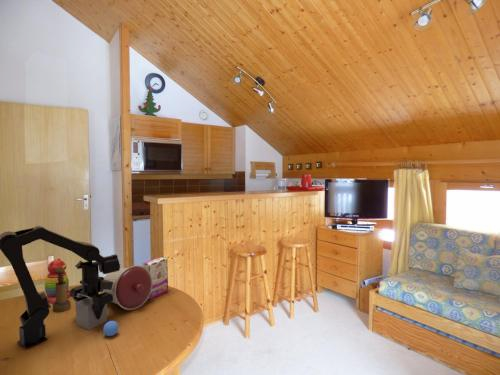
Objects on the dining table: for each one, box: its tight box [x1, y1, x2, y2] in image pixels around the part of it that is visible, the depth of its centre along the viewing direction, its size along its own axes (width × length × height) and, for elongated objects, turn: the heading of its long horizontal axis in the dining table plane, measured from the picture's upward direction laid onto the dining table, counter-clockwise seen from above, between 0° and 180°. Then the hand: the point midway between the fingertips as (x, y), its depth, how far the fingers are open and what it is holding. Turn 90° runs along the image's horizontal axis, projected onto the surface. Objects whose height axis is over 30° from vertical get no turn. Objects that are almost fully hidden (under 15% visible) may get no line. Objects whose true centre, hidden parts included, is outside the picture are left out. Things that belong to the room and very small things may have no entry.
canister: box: [101, 265, 152, 311], centre depth 134 cm, size 18×18×21 cm
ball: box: [102, 320, 119, 337], centre depth 110 cm, size 5×5×5 cm
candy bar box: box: [142, 256, 169, 300], centre depth 144 cm, size 11×5×16 cm, turn 148°
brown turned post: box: [52, 267, 72, 313], centre depth 129 cm, size 7×6×18 cm
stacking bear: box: [44, 258, 72, 304], centre depth 139 cm, size 11×10×18 cm
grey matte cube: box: [75, 297, 108, 331], centre depth 118 cm, size 8×8×9 cm
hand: (91, 316), depth 118 cm, fingers closed on grey matte cube, 8 cm apart
